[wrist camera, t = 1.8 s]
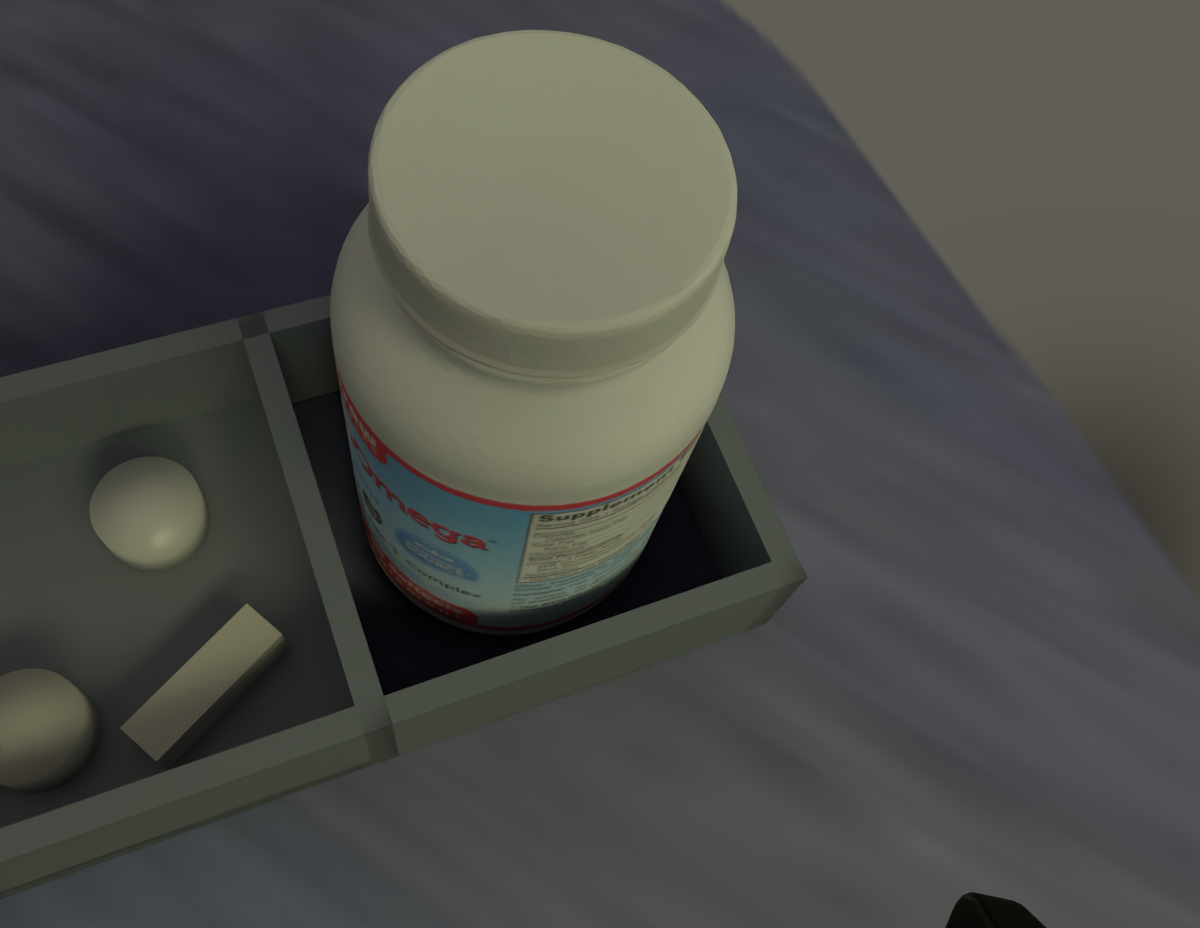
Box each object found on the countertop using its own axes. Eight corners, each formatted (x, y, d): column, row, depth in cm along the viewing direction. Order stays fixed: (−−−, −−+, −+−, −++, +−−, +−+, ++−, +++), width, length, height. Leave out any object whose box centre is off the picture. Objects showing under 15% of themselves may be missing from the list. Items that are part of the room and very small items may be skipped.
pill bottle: (315, 445, 24) (219, 61, 14) (567, 340, 26) (643, -67, 16) (441, 697, 22) (436, 467, 12) (702, 565, 24) (888, 269, 14)
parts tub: (-341, 1021, 19) (-474, 1029, 16) (-376, 560, 21) (-494, 501, 19) (766, 622, 24) (806, 578, 21) (618, 294, 27) (638, 217, 24)
